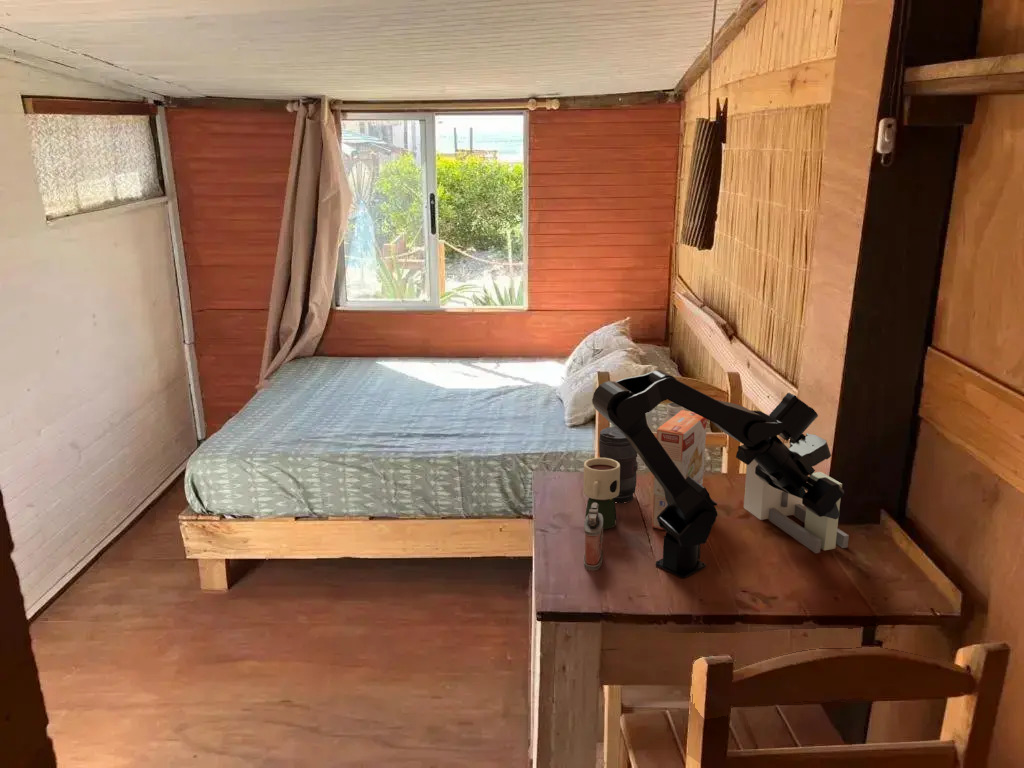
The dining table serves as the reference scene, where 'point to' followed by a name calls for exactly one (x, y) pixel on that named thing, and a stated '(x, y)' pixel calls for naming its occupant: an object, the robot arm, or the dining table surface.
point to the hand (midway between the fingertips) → (820, 506)
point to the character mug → (602, 487)
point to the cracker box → (681, 452)
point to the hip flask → (593, 538)
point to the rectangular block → (823, 521)
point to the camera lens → (620, 460)
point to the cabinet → (781, 509)
